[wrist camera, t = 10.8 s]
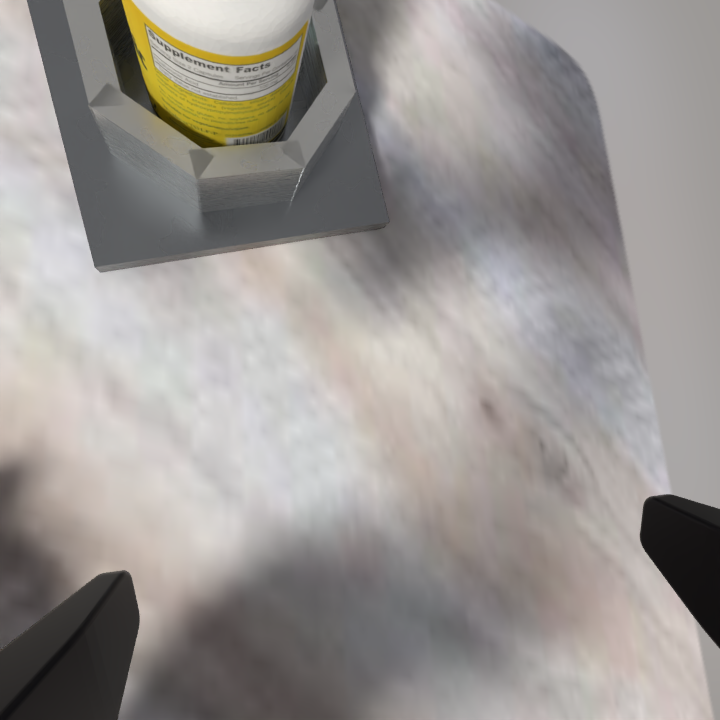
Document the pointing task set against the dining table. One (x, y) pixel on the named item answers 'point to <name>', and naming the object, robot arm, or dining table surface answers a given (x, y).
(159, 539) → the dining table surface
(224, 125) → the supplement bottle
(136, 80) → the collar
